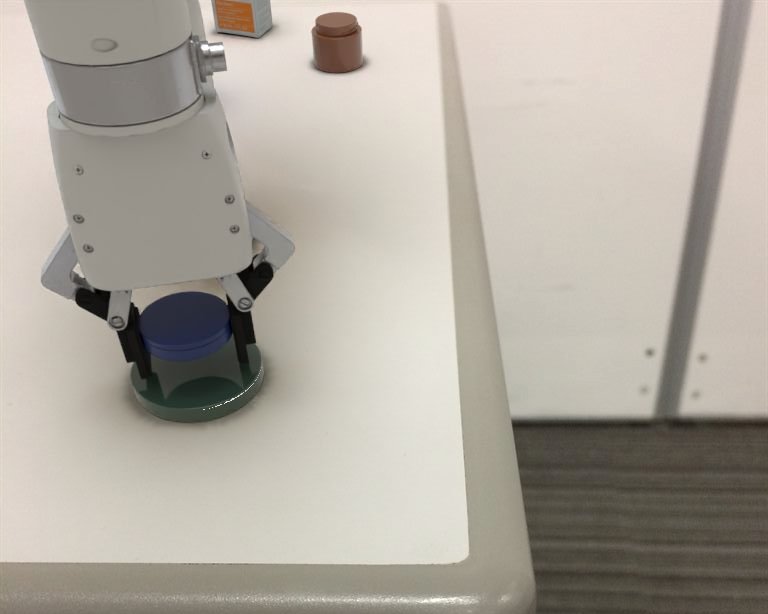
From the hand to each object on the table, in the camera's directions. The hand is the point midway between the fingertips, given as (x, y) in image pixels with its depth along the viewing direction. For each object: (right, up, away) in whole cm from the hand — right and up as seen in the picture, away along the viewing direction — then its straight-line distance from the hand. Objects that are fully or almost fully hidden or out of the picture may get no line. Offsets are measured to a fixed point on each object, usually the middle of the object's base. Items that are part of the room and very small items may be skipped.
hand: (194, 356), depth 55 cm
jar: (+8, +41, +38) cm, 56 cm away
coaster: (0, -1, +2) cm, 2 cm away
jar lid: (0, +2, -2) cm, 3 cm away
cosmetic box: (-4, +49, +45) cm, 67 cm away
